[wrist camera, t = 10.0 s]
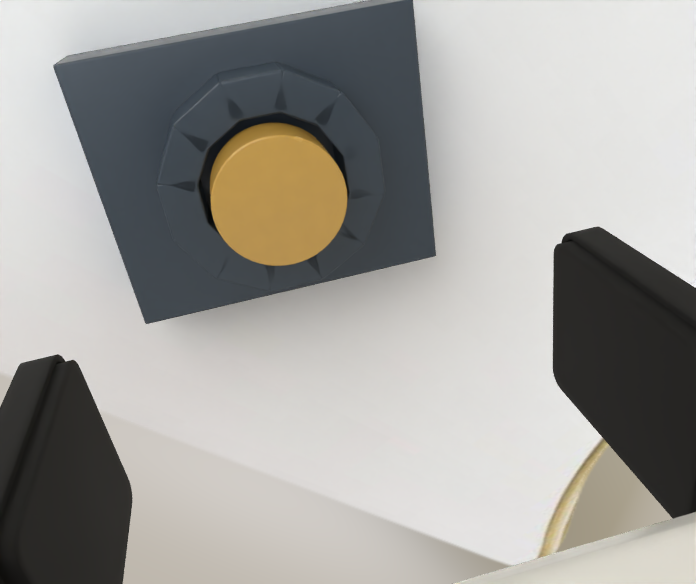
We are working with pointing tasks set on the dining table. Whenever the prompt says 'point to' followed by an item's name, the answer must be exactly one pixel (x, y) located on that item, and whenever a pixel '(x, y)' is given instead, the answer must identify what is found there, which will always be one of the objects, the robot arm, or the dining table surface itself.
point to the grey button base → (243, 112)
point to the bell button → (277, 194)
